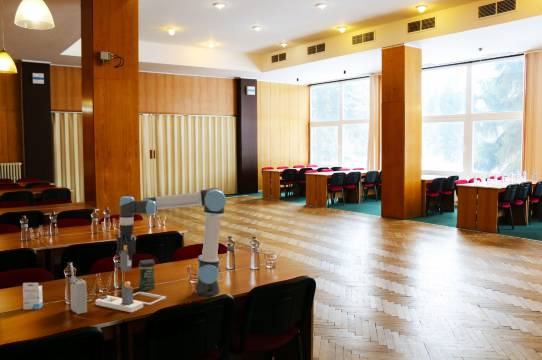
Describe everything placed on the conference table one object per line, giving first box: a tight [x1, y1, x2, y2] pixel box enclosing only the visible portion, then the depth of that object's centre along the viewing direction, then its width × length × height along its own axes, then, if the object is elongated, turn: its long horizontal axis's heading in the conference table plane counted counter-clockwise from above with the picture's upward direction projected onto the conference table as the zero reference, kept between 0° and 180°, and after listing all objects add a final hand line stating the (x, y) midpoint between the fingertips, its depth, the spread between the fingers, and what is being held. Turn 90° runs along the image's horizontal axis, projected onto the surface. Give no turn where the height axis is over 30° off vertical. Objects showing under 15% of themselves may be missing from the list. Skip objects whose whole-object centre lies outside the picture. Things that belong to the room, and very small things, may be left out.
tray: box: [133, 291, 167, 306], centre depth 268 cm, size 20×14×2 cm
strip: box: [94, 295, 144, 313], centre depth 256 cm, size 26×9×4 cm, turn 64°
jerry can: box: [69, 262, 88, 316], centre depth 249 cm, size 15×5×25 cm, turn 38°
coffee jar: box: [138, 258, 156, 292], centre depth 287 cm, size 10×8×19 cm
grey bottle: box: [120, 244, 132, 272], centre depth 261 cm, size 4×4×14 cm
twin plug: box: [121, 281, 134, 306], centre depth 253 cm, size 4×4×14 cm
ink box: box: [22, 282, 43, 310], centre depth 253 cm, size 8×5×15 cm, turn 96°
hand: (126, 265), depth 262 cm, fingers closed on grey bottle, 4 cm apart
